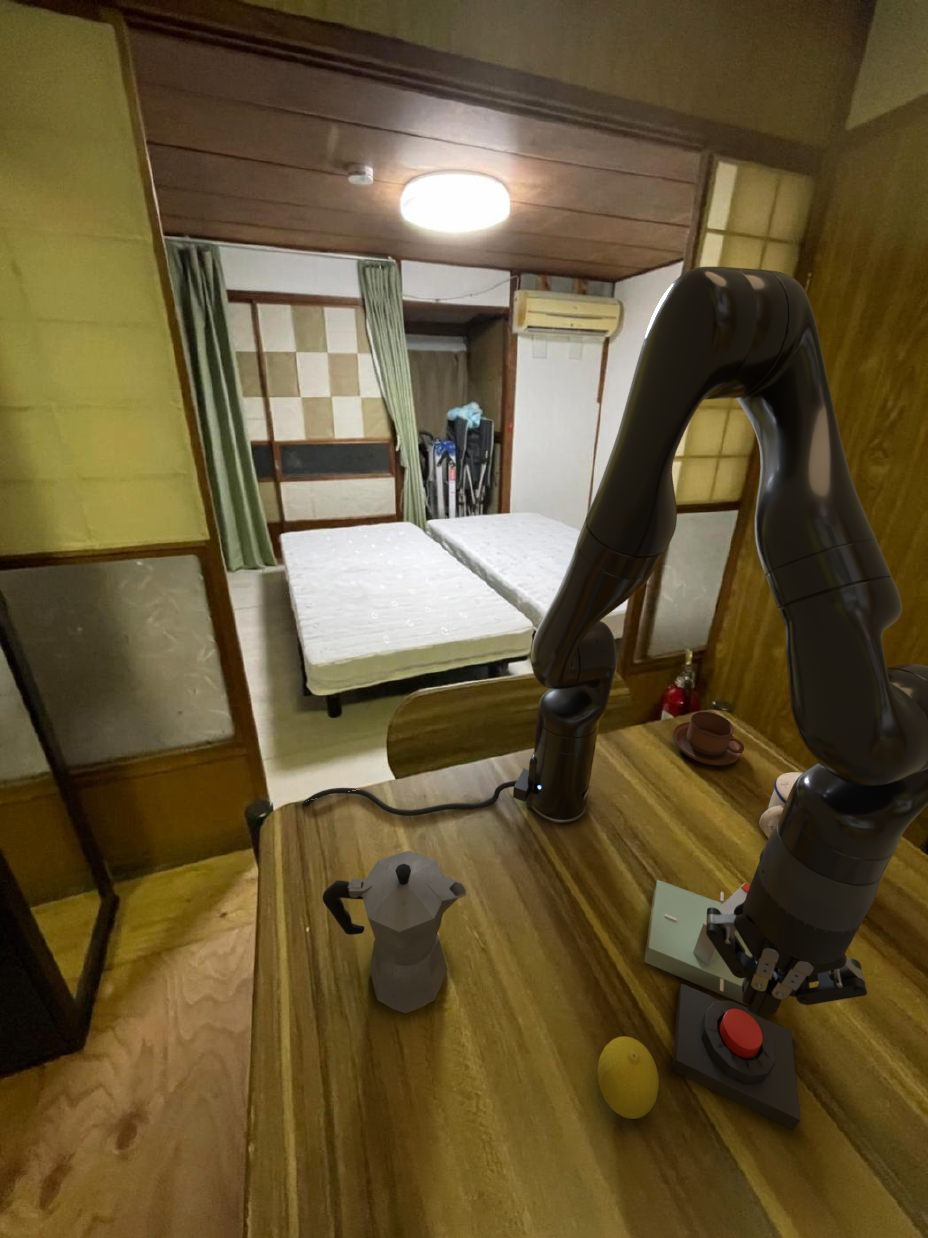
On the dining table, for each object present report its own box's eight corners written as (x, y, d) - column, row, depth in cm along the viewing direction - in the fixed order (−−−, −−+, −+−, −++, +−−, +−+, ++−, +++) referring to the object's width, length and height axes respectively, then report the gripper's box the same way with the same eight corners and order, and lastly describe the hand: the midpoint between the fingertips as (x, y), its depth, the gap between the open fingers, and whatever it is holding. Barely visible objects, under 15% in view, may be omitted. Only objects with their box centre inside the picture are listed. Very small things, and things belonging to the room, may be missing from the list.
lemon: (586, 1065, 53) (595, 1023, 50) (637, 1060, 54) (650, 1018, 50) (603, 1137, 48) (615, 1096, 45) (660, 1131, 49) (676, 1090, 45)
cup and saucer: (738, 740, 100) (747, 714, 98) (739, 780, 91) (749, 752, 88) (674, 723, 105) (680, 698, 102) (668, 759, 95) (675, 733, 92)
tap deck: (642, 975, 61) (646, 959, 60) (654, 884, 72) (658, 869, 71) (781, 1035, 56) (789, 1019, 54) (771, 927, 67) (778, 912, 65)
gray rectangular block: (708, 967, 59) (720, 936, 57) (692, 952, 61) (703, 921, 58) (749, 923, 64) (761, 893, 61) (733, 911, 65) (745, 881, 63)
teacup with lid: (792, 808, 85) (814, 754, 80) (841, 854, 77) (869, 796, 72) (731, 823, 82) (750, 767, 77) (776, 872, 74) (800, 813, 69)
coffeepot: (463, 932, 66) (466, 832, 58) (464, 1016, 57) (466, 912, 49) (343, 931, 65) (328, 831, 57) (325, 1015, 57) (305, 911, 49)
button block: (671, 1071, 53) (679, 1051, 51) (677, 994, 59) (684, 973, 58) (793, 1131, 49) (806, 1111, 47) (785, 1041, 55) (796, 1021, 54)
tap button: (719, 1047, 52) (723, 1038, 51) (719, 1011, 55) (723, 1002, 54) (759, 1066, 50) (764, 1057, 50) (757, 1027, 53) (761, 1018, 53)
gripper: (721, 891, 41) (680, 1012, 49) (925, 963, 37) (844, 1085, 44) (722, 824, 48) (685, 941, 55) (896, 878, 43) (829, 998, 50)
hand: (755, 1004), depth 50 cm, fingers closed
